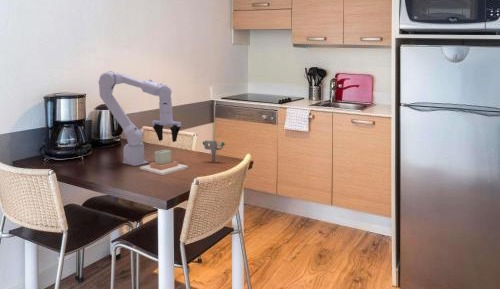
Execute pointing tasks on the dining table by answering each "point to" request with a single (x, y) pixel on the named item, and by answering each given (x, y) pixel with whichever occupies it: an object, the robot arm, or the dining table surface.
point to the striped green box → (163, 157)
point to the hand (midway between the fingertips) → (167, 140)
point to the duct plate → (164, 168)
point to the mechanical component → (213, 147)
